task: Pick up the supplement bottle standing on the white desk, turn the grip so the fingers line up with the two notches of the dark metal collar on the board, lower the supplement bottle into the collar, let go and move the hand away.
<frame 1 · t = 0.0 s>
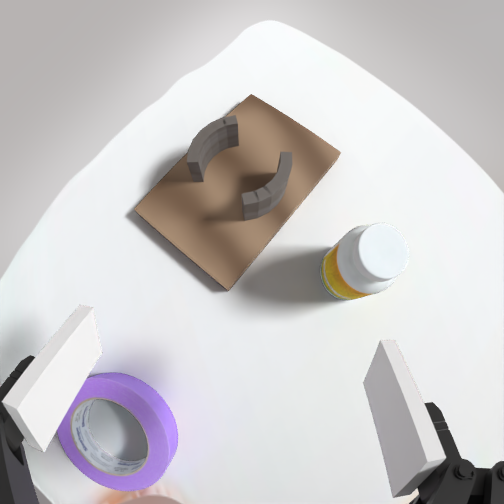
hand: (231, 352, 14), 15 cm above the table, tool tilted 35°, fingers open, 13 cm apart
collar board: (240, 183, 32), on the table
masking tape: (122, 427, 27), on the table
supplement bottle: (344, 273, 30), on the table
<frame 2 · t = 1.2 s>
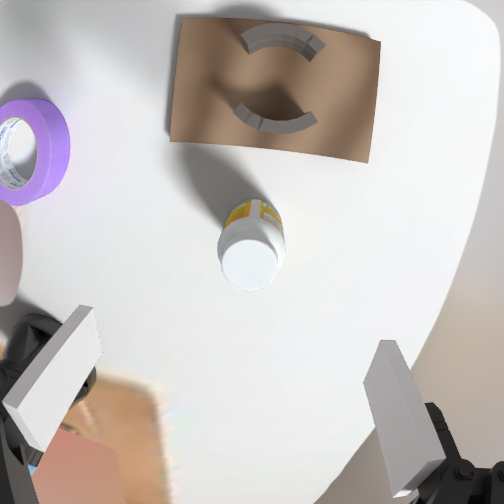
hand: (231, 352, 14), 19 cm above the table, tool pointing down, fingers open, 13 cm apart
collar board: (276, 85, 26), on the table
masking tape: (33, 148, 29), on the table
supplement bottle: (253, 224, 32), on the table
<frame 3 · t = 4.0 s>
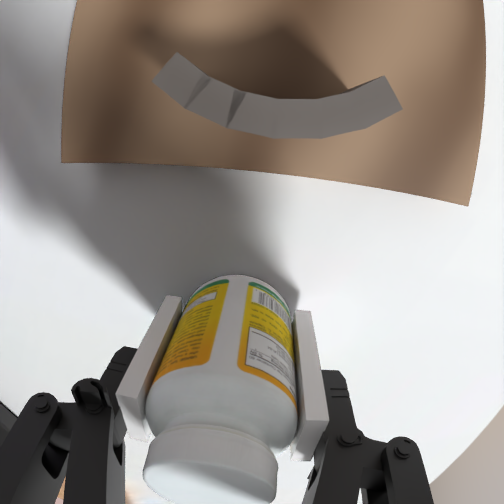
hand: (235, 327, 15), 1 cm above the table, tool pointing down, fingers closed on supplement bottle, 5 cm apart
collar board: (281, 31, 11), on the table
supplement bottle: (237, 316, 16), on the table, touching gripper
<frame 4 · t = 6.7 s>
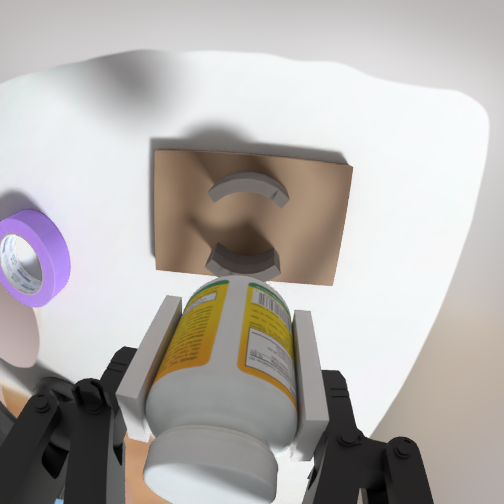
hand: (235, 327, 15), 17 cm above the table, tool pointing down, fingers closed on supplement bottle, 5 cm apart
collar board: (248, 215, 31), on the table
masking tape: (37, 252, 34), on the table
supplement bottle: (237, 316, 16), point 16 cm above the table, touching gripper
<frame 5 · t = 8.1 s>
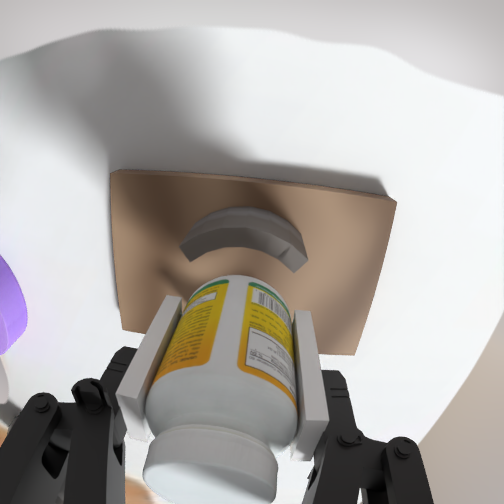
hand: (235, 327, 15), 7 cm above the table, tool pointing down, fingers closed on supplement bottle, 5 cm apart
collar board: (245, 265, 22), on the table
supplement bottle: (237, 316, 16), point 6 cm above the table, touching gripper
when the fingers open (4 cm above the table, at t = 9.3 s): supplement bottle drops 2 cm, resting on collar board.
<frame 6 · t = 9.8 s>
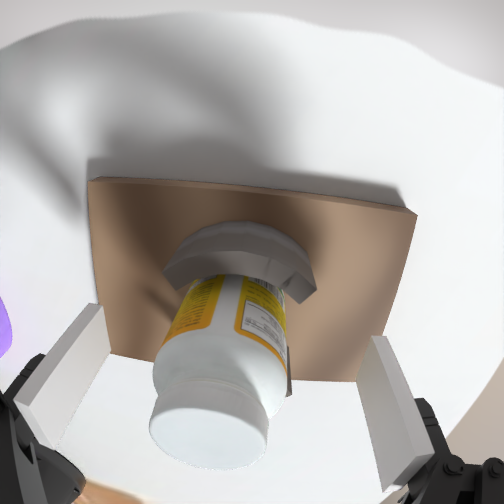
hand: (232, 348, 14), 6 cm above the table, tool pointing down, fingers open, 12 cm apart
collar board: (242, 285, 19), on the table
supplement bottle: (236, 297, 18), point 1 cm above the table, touching collar board
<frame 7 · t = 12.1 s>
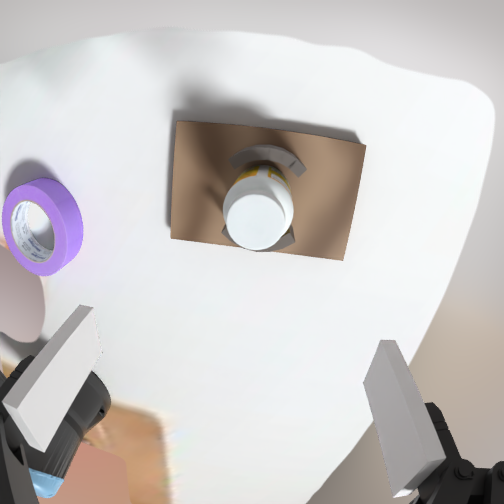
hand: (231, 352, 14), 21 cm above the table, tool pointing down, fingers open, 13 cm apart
collar board: (264, 188, 32), on the table
masking tape: (49, 221, 35), on the table
supplement bottle: (261, 191, 30), point 1 cm above the table, touching collar board
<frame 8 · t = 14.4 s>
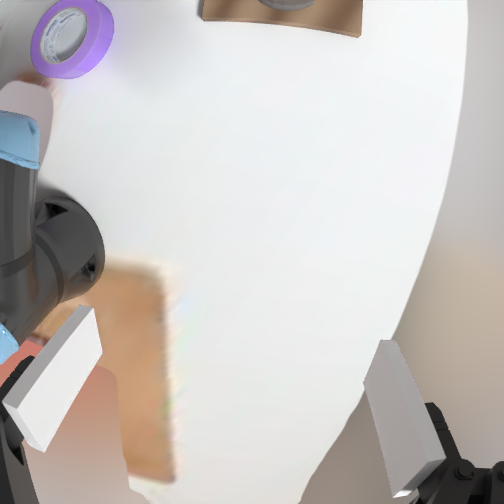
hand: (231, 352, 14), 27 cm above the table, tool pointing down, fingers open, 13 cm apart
masking tape: (78, 39, 31), on the table
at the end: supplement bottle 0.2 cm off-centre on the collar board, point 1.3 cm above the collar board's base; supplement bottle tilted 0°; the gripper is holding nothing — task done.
